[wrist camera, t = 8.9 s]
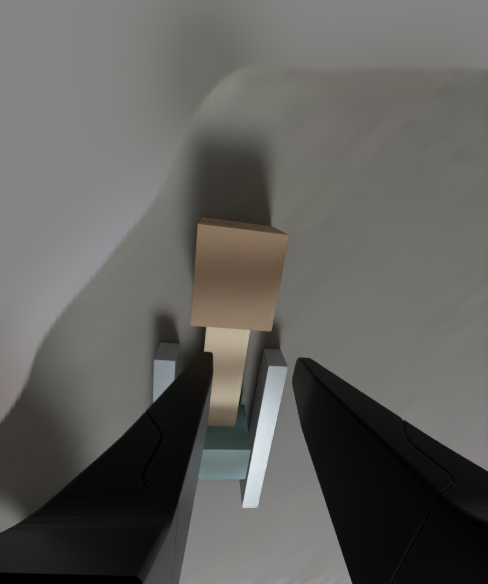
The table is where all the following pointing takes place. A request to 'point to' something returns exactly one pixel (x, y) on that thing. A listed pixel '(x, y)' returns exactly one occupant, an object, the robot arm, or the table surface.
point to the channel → (262, 412)
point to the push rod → (226, 407)
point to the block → (237, 274)
